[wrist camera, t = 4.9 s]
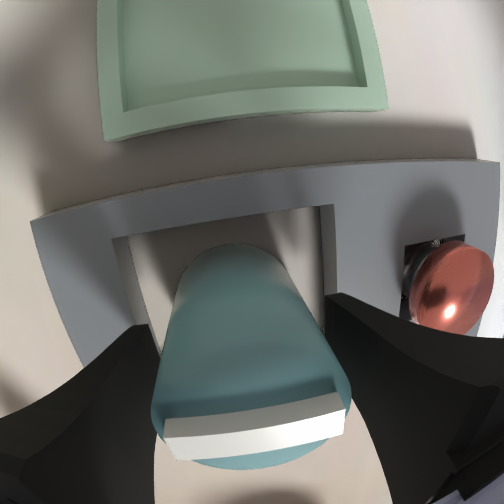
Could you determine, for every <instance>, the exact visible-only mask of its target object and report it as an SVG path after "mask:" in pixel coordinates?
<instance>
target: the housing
mask: <svg viewBox="0 0 504 504" xmlns="http://www.w3.org/2000/svg"><path fill="white" fill-rule="evenodd" d="M499 198H500V162H493V161H487V160H480V159H392V160H370V161H353V162H339V163H326V164H315V165H304V166H294V167H285V168H276V169H268V170H260V171H252V172H245V173H237V174H230V175H224V176H217V177H211V178H205V179H199V180H193V181H187V182H181V183H176V184H170V185H165V186H160V187H155V188H150V189H145V190H140V191H135V192H131V193H126V194H122V195H117V196H113V197H108V198H104V199H100V200H96V201H92V202H88V203H84V204H80V205H76V206H72V207H68V208H64V209H61V210H57V211H53V212H50V213H48V214H45V215H43V216H41V217H39V218H36V219H34V220H32V221H30V224H31V228H32V232H33V236H34V240H35V243H36V247H37V250H38V254H39V257H40V261H41V264H42V267H43V270H44V273H45V276H46V279H47V282H48V285H49V288H50V291H51V293H52V296H53V299H54V302H55V304H56V307H57V309H58V312H59V314H60V317H61V319H62V322H63V324H64V326H65V329H66V331H67V333H68V336H69V338H70V340H71V342H72V344H73V346H74V349H75V351H76V353H77V355H78V357H79V359H80V361H81V363H82V365H83V367H84V368H85V367H86V366H87V365H88V364H89V363H90V362H92V361H93V360H94V359H95V358H96V357H97V356H99V355H100V354H101V353H102V352H103V351H104V350H105V349H106V348H107V347H108V346H109V345H110V344H111V343H112V342H114V341H115V340H116V339H117V338H118V337H119V336H120V335H121V334H122V333H123V332H125V331H126V330H127V329H128V328H129V327H131V326H132V325H141V324H149V327H150V330H151V333H152V336H153V339H154V342H155V344H156V347H157V350H158V353H159V356H160V358H161V352H160V349H159V346H158V343H157V340H156V337H155V334H154V331H153V328H152V325H151V322H150V319H149V316H148V313H147V310H146V306H145V303H144V300H143V296H142V293H141V290H140V286H139V283H138V279H137V275H136V272H135V268H134V264H133V260H132V257H131V253H130V249H129V244H128V240H127V236H128V235H134V234H139V233H145V232H150V231H156V230H161V229H167V228H173V227H179V226H185V225H190V224H196V223H203V222H209V221H215V220H221V219H228V218H234V217H241V216H247V215H254V214H261V213H268V212H275V211H282V210H289V209H297V208H304V207H312V206H320V219H321V235H322V253H323V277H324V319H325V295H330V294H335V293H340V292H342V293H345V294H348V295H350V296H352V297H355V298H357V299H359V300H361V301H363V302H365V303H368V304H370V305H372V306H374V307H376V308H378V309H381V310H383V311H385V312H388V313H390V314H392V315H395V316H397V317H400V318H402V319H405V320H408V321H410V322H413V323H415V322H414V321H413V319H412V318H411V315H410V311H409V300H407V301H403V302H401V293H402V282H403V269H404V252H405V246H406V245H411V244H416V243H422V242H427V241H432V240H437V239H442V238H443V244H444V243H446V242H449V241H454V240H458V241H462V242H465V243H467V244H469V245H471V246H473V247H475V248H477V249H479V250H481V251H483V252H485V253H486V254H487V255H488V256H489V257H490V259H491V261H492V264H493V260H494V253H495V246H496V237H497V228H498V216H499ZM482 314H483V313H482ZM481 318H482V315H481V317H480V318H479V319H478V321H477V322H476V323H475V325H474V326H473V327H472V328H471V329H470V330H469V331H468V332H467V333H465V334H464V335H467V336H475V337H476V336H477V333H478V329H479V326H480V322H481Z"/></svg>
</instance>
